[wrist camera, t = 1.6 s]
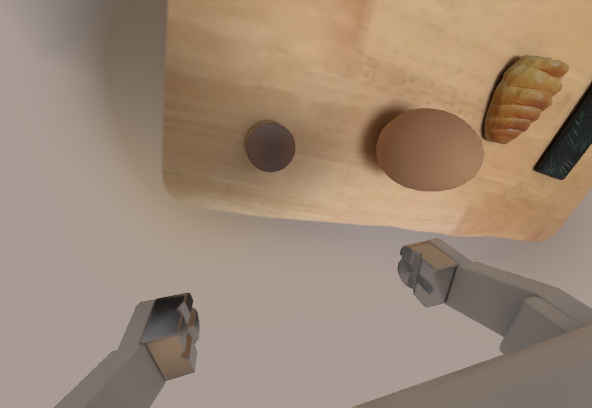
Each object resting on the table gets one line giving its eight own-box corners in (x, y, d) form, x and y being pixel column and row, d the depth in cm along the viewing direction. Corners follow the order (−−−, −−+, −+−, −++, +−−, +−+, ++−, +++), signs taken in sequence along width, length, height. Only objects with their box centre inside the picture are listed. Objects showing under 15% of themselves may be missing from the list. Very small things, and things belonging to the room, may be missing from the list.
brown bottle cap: (245, 165, 25) (247, 172, 23) (244, 119, 23) (246, 122, 21) (288, 165, 26) (293, 171, 24) (290, 120, 24) (296, 124, 22)
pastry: (504, 144, 33) (535, 151, 29) (468, 136, 31) (497, 142, 27) (546, 67, 29) (587, 65, 26) (508, 52, 27) (547, 47, 24)
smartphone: (538, 171, 35) (619, 59, 30) (531, 169, 36) (608, 59, 31) (563, 181, 38) (643, 78, 32) (556, 178, 39) (632, 78, 33)
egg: (348, 155, 28) (411, 191, 18) (386, 91, 25) (480, 94, 16) (393, 180, 31) (467, 223, 21) (430, 125, 29) (531, 145, 19)
